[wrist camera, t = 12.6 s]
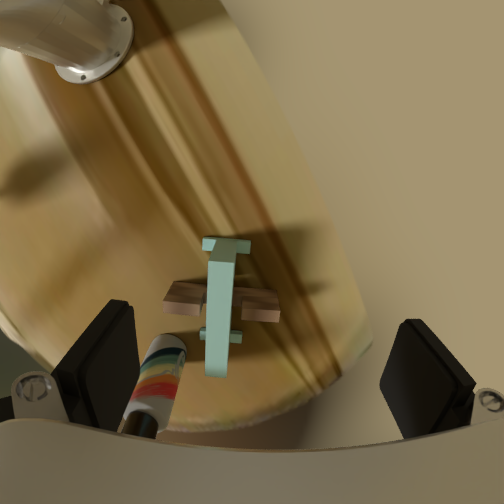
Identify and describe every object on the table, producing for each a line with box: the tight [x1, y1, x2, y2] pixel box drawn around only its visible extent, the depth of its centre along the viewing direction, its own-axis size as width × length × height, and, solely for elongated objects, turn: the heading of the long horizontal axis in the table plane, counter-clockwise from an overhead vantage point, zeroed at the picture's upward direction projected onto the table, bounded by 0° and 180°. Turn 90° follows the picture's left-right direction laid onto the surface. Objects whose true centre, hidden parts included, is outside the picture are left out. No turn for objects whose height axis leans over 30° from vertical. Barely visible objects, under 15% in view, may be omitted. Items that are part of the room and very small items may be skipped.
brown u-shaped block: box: [163, 282, 280, 322], centre depth 40 cm, size 14×2×6 cm, turn 85°
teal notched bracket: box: [200, 237, 251, 378], centre depth 38 cm, size 15×6×9 cm, turn 175°
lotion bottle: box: [121, 334, 187, 439], centre depth 36 cm, size 6×6×20 cm
